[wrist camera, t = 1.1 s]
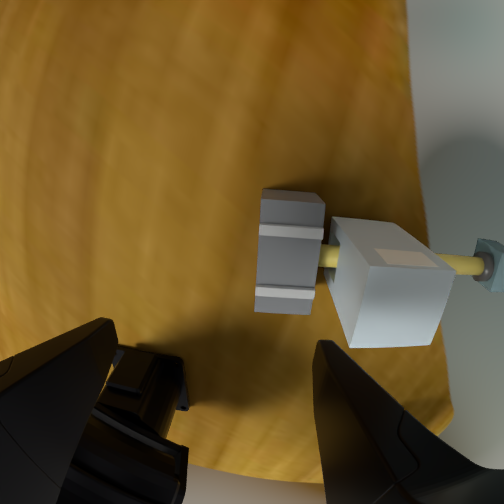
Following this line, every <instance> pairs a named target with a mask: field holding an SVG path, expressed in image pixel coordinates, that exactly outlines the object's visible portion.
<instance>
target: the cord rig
mask: <svg viewBox="0 0 504 504" xmlns="http://www.w3.org/2000/svg"><path fill="white" fill-rule="evenodd" d="M325 206H326V204H325V203H324V202H323V200H322V199H321V198H320V197H319V196H318V195H317V194H316V193H311V192H299V191H287V190H273V189H263V192H262V197H261V210H260V225H259V244H258V261H257V277H256V291H255V310H254V312H266V313H282V314H300V315H310V312H311V307H312V301H313V299H314V296H315V282H316V275H317V268H318V266H319V267H334V268H337V262H338V256H339V249H340V245H327V244H321V240H323V234H324V229H323V223H324V215H325ZM435 254H436V255H437V256H439V257H440V258H441V259H442V260H444V261H445V262H446V263H447V264H449V265H450V266H451V267H452V268H453V269H455V270H456V271H457V272H456V274H459V275H460V274H461V275H471V276H472V277H473V279H474V280H475V281H478V282H479V283H480V284H481V285H483V286H484V287H485V288H486V289H487V290H488V291H489V292H504V246H503V245H502V244H500V243H499V242H497V241H492V240H486V239H478V241H477V245H476V249H475V253H474V256H473V257H470V256H459V255H448V254H437V253H435Z"/></svg>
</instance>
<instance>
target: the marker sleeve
mask: <svg viewBox="0 0 504 504" xmlns="http://www.w3.org/2000/svg"><path fill="white" fill-rule="evenodd" d="M328 245H340V249H339V256H338V262H337V268H334V267H325V268H324V276H325V279H326V282H327V285H328V287H329V290H330V293H331V296H332V298H333V301H334V304H335V307H336V310H337V313H338V315H339V318H340V321H341V324H342V327H343V330H344V333H345V336H346V339H347V342H348V345H349V348H380V347H405V346H422V345H430V344H431V342H432V339H433V337H434V334H435V332H436V329H437V327H438V324H439V322H440V319H441V317H442V314H443V311H444V308H445V306H446V303H447V300H448V297H449V294H450V291H451V288H452V285H453V282H454V278H455V275H456V272H457V271H456V270H455V269H453V268H452V267H451V266H450V265H449V264H447V263H446V262H445V261H444V260H442V259H441V258H440V257H439V256H437V255H436V254H435V253H434V252H432V251H431V250H430V249H429V248H427V247H426V246H425V245H423V244H422V243H421V242H419V241H418V240H417V239H415V238H414V237H413V236H411V235H410V234H409V233H407V232H406V231H405V230H403V229H402V228H401V227H399V226H398V225H396V224H395V223H391V222H382V221H373V220H364V219H354V218H343V217H333V216H332V218H331V226H330V234H329V241H328Z"/></svg>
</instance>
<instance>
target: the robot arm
mask: <svg viewBox="0 0 504 504" xmlns="http://www.w3.org/2000/svg"><path fill="white" fill-rule="evenodd" d="M176 363H178V364H176ZM111 364H113V367H114V369H113V371H112V373H111V374H110V376H109V378H108V379H107V376H108V373H109V370H110V367H111ZM312 373H313V405H314V417H315V424H316V431H317V437H318V444H319V451H320V458H321V465H322V472H323V479H324V487H325V494H326V503H327V504H504V469H503V470H501V469H489V468H485V467H481V466H479V465H477V464H475V463H473V462H472V461H470V460H469V459H467V458H466V457H465V456H463V455H462V454H460V453H459V452H458V451H456V450H455V449H453V448H452V447H451V446H449V445H448V444H446V443H445V442H444V441H442V440H441V439H440V438H438V437H437V436H436V435H435V434H433V433H432V432H431V431H429V430H428V429H427V428H426V427H425V426H423V425H422V424H421V423H420V422H419V421H418V420H417V419H416V418H414V417H413V416H412V415H411V414H410V413H409V412H408V411H407V410H404V407H402V406H401V405H400V404H399V403H398V402H397V401H396V400H395V399H394V398H393V397H392V396H391V395H390V394H389V393H388V392H386V391H385V390H384V389H383V388H382V387H381V386H380V385H379V384H378V383H377V382H376V381H375V380H374V379H373V378H372V377H371V376H370V375H368V374H367V373H366V372H365V371H364V370H363V369H362V368H361V367H360V366H359V365H358V364H357V363H356V362H355V361H354V360H353V359H352V358H351V357H349V356H348V355H347V354H346V353H345V352H344V351H343V350H342V349H341V348H340V347H339V346H338V345H337V344H336V343H335V342H334V341H332V340H319V341H318V342H317V345H316V350H315V354H314V359H313V365H312ZM106 379H107V381H106ZM105 381H106V385H105V387H104V389H103V390H102V388H103V386H104V384H105ZM101 391H102V392H101ZM100 393H101V394H100ZM189 407H190V404H189V397H188V391H187V384H186V377H185V369H184V362H183V360H182V359H181V358H179V357H174V356H168V355H161V354H155V353H150V352H144V351H139V350H134V349H129V348H124V347H119V346H118V338H117V334H116V329H115V325H114V322H113V320H112V319H109V318H103V317H100V318H98V319H95V320H93V321H91V322H89V323H86V324H84V325H82V326H79V327H77V328H75V329H73V330H70V331H68V332H66V333H64V334H61V335H59V336H57V337H55V338H52V339H50V340H48V341H46V342H43V343H41V344H39V345H37V346H34V347H32V348H30V349H28V350H25V351H23V352H21V353H18V354H16V355H15V356H12V357H9V358H7V359H5V360H2V361H0V504H182V502H183V499H184V496H185V492H186V481H187V466H188V452H189V448H188V447H186V446H183V445H178V444H176V443H174V442H171V441H169V440H167V439H166V437H167V434H168V431H169V428H170V425H171V422H172V419H173V416H174V413H175V410H181V411H188V410H189Z"/></svg>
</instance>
